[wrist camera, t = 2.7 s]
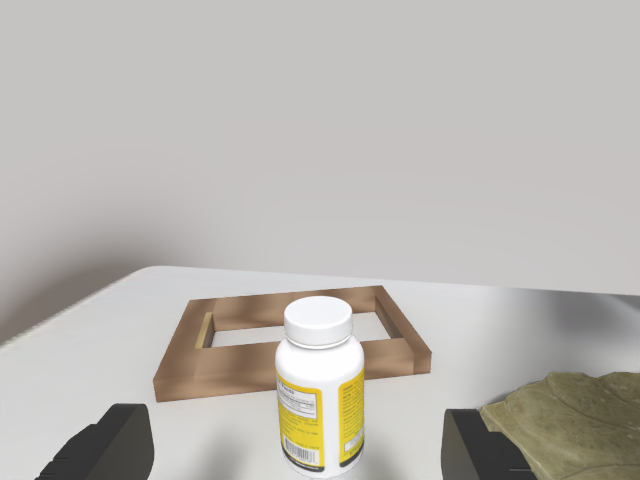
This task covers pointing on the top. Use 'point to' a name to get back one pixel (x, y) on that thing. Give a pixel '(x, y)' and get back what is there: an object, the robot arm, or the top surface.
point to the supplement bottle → (320, 388)
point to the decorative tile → (574, 425)
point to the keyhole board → (273, 344)
